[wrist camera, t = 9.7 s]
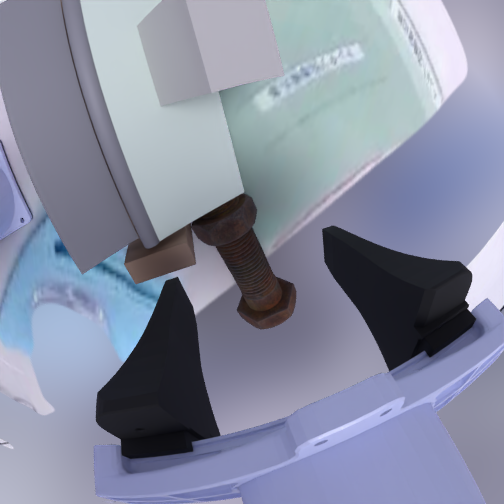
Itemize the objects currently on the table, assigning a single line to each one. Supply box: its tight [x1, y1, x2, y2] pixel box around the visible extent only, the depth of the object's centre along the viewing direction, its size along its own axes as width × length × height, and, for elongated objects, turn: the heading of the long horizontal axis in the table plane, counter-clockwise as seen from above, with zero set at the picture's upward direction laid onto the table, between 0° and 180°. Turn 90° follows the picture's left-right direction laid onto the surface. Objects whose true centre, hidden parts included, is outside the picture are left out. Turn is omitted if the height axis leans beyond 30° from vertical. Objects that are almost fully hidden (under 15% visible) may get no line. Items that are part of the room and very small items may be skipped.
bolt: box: [191, 193, 296, 329], centre depth 22 cm, size 6×5×15 cm
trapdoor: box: [0, 0, 244, 274], centre depth 11 cm, size 11×18×3 cm, turn 12°
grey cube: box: [137, 0, 284, 106], centre depth 10 cm, size 4×5×5 cm
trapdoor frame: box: [60, 0, 196, 284], centre depth 13 cm, size 5×22×7 cm, turn 12°
